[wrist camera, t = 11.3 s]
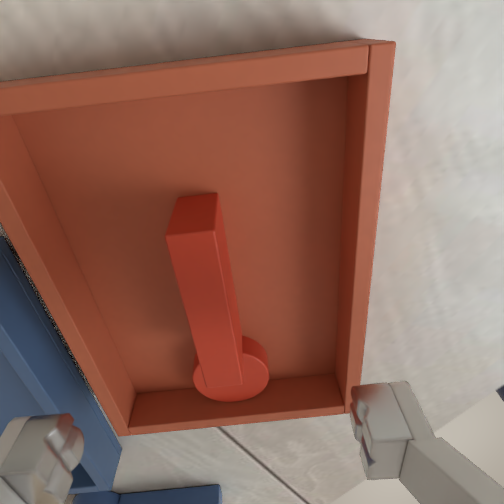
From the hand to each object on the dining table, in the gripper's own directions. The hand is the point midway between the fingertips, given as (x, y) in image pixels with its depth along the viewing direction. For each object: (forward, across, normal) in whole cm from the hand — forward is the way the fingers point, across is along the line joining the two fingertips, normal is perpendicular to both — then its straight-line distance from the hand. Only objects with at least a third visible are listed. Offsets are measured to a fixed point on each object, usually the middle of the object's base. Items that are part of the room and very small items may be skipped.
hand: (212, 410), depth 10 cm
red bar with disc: (+6, 0, +2) cm, 7 cm away
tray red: (+7, 0, 0) cm, 7 cm away
